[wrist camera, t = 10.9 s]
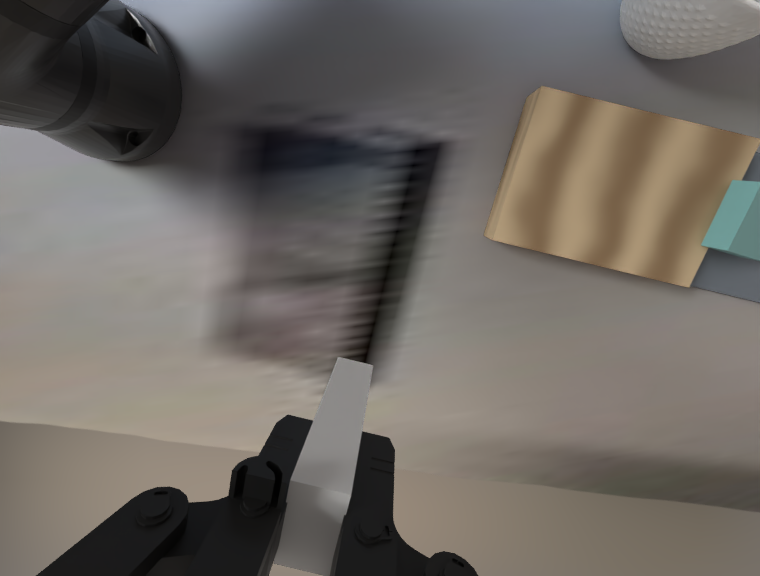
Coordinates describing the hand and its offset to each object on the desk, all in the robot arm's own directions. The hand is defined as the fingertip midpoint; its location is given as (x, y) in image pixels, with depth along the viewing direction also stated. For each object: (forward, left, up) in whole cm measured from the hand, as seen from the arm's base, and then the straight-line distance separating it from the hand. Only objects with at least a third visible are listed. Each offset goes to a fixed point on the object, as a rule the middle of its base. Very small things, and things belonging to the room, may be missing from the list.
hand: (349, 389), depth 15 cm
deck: (+20, +13, -26) cm, 36 cm away
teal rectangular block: (+32, +13, -24) cm, 42 cm away
